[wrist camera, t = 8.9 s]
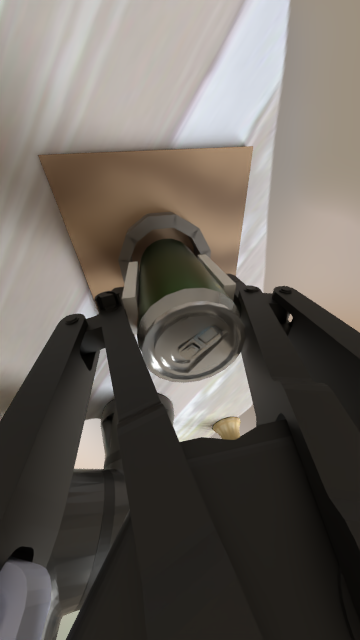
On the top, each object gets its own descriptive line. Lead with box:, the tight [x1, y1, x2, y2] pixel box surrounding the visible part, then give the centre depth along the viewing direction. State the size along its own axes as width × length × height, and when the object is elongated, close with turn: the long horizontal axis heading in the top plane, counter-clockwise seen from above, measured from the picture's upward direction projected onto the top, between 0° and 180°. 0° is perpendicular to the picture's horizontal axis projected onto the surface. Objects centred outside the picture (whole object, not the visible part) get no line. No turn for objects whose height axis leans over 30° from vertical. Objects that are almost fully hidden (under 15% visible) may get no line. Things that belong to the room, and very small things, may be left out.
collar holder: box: [38, 146, 253, 311], centre depth 19 cm, size 18×18×4 cm
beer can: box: [137, 239, 246, 382], centre depth 13 cm, size 5×5×12 cm
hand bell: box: [213, 417, 240, 440], centre depth 45 cm, size 8×8×16 cm
